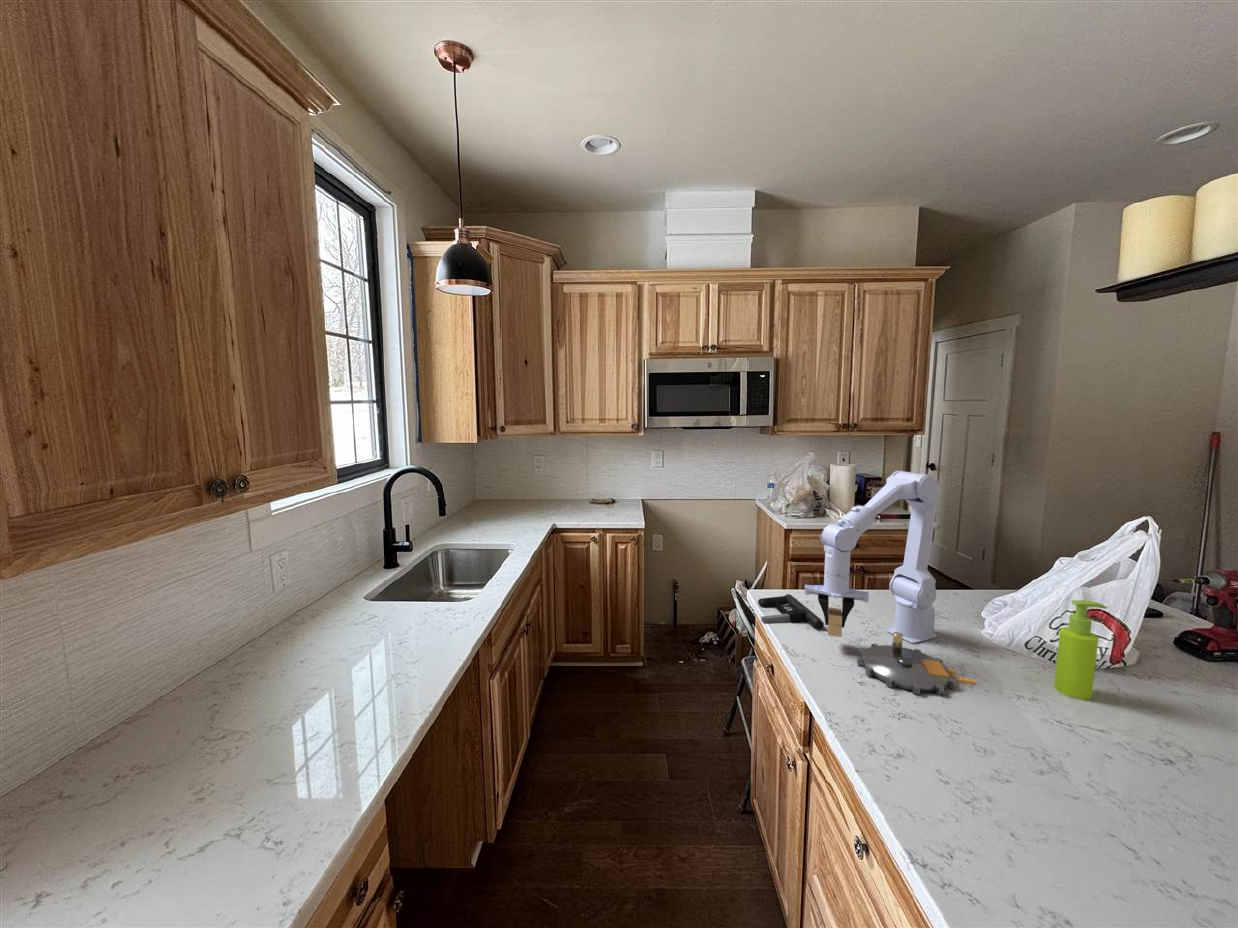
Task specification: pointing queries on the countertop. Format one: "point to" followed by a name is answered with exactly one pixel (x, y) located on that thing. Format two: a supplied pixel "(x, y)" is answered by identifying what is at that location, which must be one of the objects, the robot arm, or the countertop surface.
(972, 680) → the timing pointer
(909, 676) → the sprocket
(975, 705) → the countertop surface
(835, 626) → the tan wooden block
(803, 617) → the submachine gun
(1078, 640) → the soap dispenser
